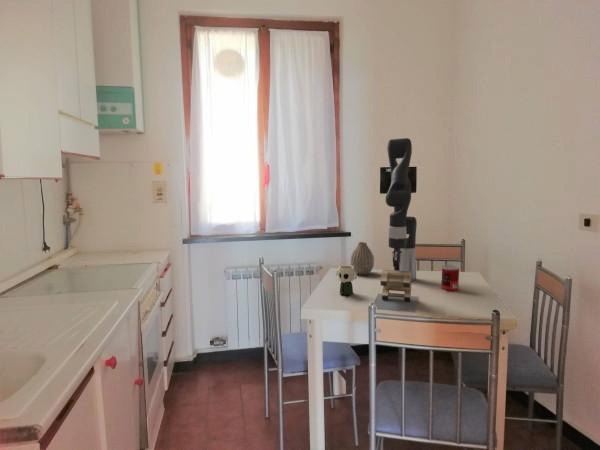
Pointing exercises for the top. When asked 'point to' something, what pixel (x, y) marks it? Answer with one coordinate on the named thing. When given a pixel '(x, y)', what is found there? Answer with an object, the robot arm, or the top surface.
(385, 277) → the stool
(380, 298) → the mat
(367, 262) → the vase
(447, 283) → the canned food
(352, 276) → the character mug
